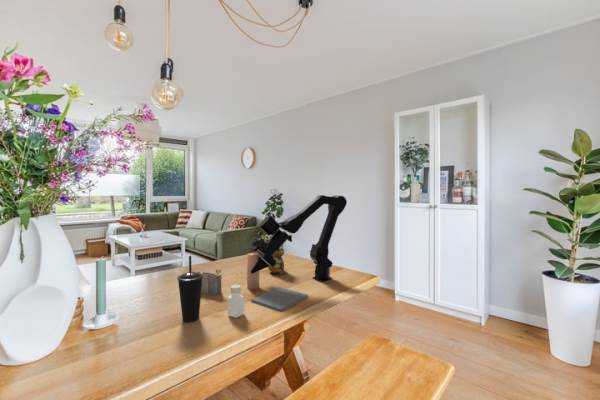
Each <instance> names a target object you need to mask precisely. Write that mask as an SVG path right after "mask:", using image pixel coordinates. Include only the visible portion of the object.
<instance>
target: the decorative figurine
mask: <svg viewBox="0 0 600 400" xmlns="http://www.w3.org/2000/svg"><path fill="white" fill-rule="evenodd" d="M279 249H280V251H279V252H278V251H277V252H276V253H275V254H274V255H273V258H274V259H275V260H276V265H275V266H274V267H272V266H271V265H270V264H269V266H270V267H267V268H268V270H269V271H270V272H271V274H276V275H277V274H278V275H281V274H282V273H283V272H284V269H285V263H284V259H283V256H284V254H285V249H284V244H283V245H282V246H281V247H280V248H279Z"/></svg>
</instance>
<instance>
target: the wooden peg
mask: <svg viewBox="0 0 600 400" xmlns="http://www.w3.org/2000/svg"><path fill="white" fill-rule="evenodd" d="M258 256H259V253H253V252H249V253H247V254H246V289H247V290H249V291H250V290H251V291H252V290H253V291H254V290H258V289H260V271H257V272H255V273H253V274H252V273H251V270H252V269H253V267H254V266H255V264H256V263H257V261H258Z"/></svg>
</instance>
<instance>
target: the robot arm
mask: <svg viewBox="0 0 600 400" xmlns="http://www.w3.org/2000/svg"><path fill="white" fill-rule="evenodd" d="M347 202H348V201H347V199H346V197H345V196H344V195H335V194H334V195H332V196H328V195H324V194H319V195H316V197H315V198H314V199H313V200H312V201H310V202H309V203H308V204H307V205H306V206H304V207H303V208H302V209H300V211H299V212H297V213H296V214H294V215H291V216H289V217H288V218H286V219H284V220H283V221H280V222H278V221H276V219H274V217H273V216H272V215H268V216H267V217H265V218H264V219H262V220H261V222H260V223H259V225H258V227H259V228H260V229H261V231H263V232H264V233H265V234H266V235H267V236H271V237H270V238H269V239H267V238H266V239H264V238H261V237H259V238H258V237H255V236H253V237H252V239H251V241H250V245H252V246H253V247H252V250H253V252H252V253H259V256H258V261H257V263H256V264H255V266H254V267H253V269H252V270H251V273H252V274H253V273H255V272H257V271H259V272H260V271H262V270H263V269H266V268H268V267H270V266H269V264H270V265H271V266H272V267H274V266H275V265H276V260H275V259H274V258H273V255H274V254H275V253H276V252H277V251H278V252H279V251H280V249H279V248H280V247H281V246H282V245H283V246H284V244H285V243H286V242H287V241H288V242H290V243H292V242H293V236H292V234H296V233H297V232H298V231H299V230H300V229H301V227H302V226H303V224H304V223H305V221H306V220H307V219H308V218H309V217H311V216H312V215H313V214H314V213H315V212H317V210H319V209H320V208H321V207H322V206H324V205H328V206H327V209H328V213H327V217H326V219H325V221H324V224H323V227H322V230H321V232H320V236H319V239H318V241H317V243H316V244H314V243H312V245H311V249H310V250H309V257H310V259H311V260H312V262H313V263H314V265H315V270H314V276H313V277H312V279H314V280H316V281H317V280H318V281H321V282H326V281H330V280H332V279H333V277H331V276H330V272H331V269H330V268H332V266H333V262H332V260H331V259H330V258H329V254H330V252H329V244H330V242H331V238H332V235H333V233H334V230H335V227H336V224H337V221H338V218H339V216H340V215H341V214H342V212H343V211H344V210H345V207H346V206H347ZM288 233H289V234H288Z"/></svg>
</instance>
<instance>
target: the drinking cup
mask: <svg viewBox="0 0 600 400" xmlns="http://www.w3.org/2000/svg"><path fill="white" fill-rule="evenodd" d="M198 272H199V271H192V256H191V255H189V256H188V271H187V272H183V273H182V274H180V275H179V276H177V277H176V278H177V281H178V290H179V299H180V301H179V302H180V308H181V309H180V310H181V319H182V322H184V323H193V322H196V321H197V320H198V321H199V318H200V309H201V298H202V292H201V287H202V278H203V273H201V272H200V273H198Z"/></svg>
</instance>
